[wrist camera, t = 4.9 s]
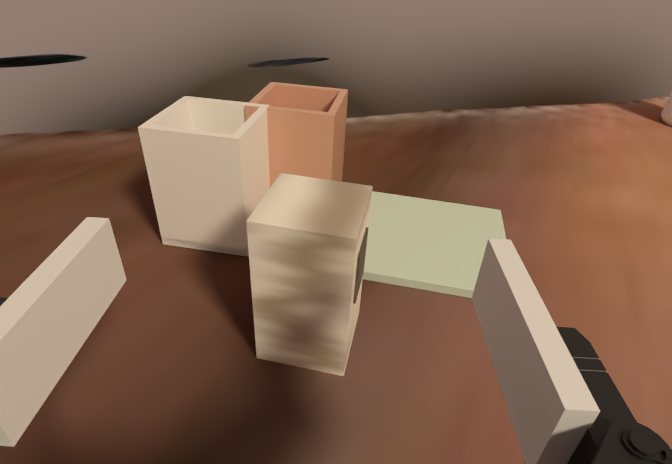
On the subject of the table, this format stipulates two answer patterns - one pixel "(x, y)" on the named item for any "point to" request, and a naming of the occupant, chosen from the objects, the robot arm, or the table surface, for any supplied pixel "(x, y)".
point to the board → (428, 243)
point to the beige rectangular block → (308, 270)
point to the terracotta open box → (304, 129)
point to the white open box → (206, 171)
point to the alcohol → (667, 111)
